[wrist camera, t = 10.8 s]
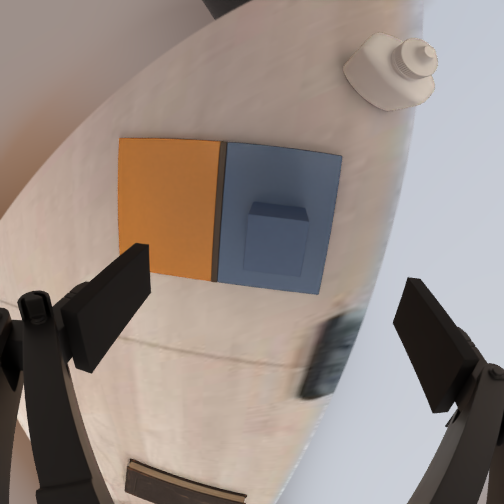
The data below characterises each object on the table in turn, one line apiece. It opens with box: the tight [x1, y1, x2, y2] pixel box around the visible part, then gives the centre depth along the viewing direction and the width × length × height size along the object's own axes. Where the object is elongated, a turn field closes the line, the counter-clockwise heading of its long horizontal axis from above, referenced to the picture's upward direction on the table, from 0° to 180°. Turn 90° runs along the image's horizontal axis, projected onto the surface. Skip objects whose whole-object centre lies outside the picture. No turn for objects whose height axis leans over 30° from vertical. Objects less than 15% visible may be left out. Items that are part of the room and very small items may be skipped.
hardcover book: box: [125, 459, 247, 504], centre depth 48 cm, size 16×23×2 cm
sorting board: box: [118, 138, 342, 295], centre depth 28 cm, size 13×20×1 cm, turn 84°
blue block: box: [243, 202, 309, 277], centre depth 26 cm, size 4×4×4 cm
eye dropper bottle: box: [343, 32, 438, 111], centre depth 17 cm, size 4×6×12 cm
